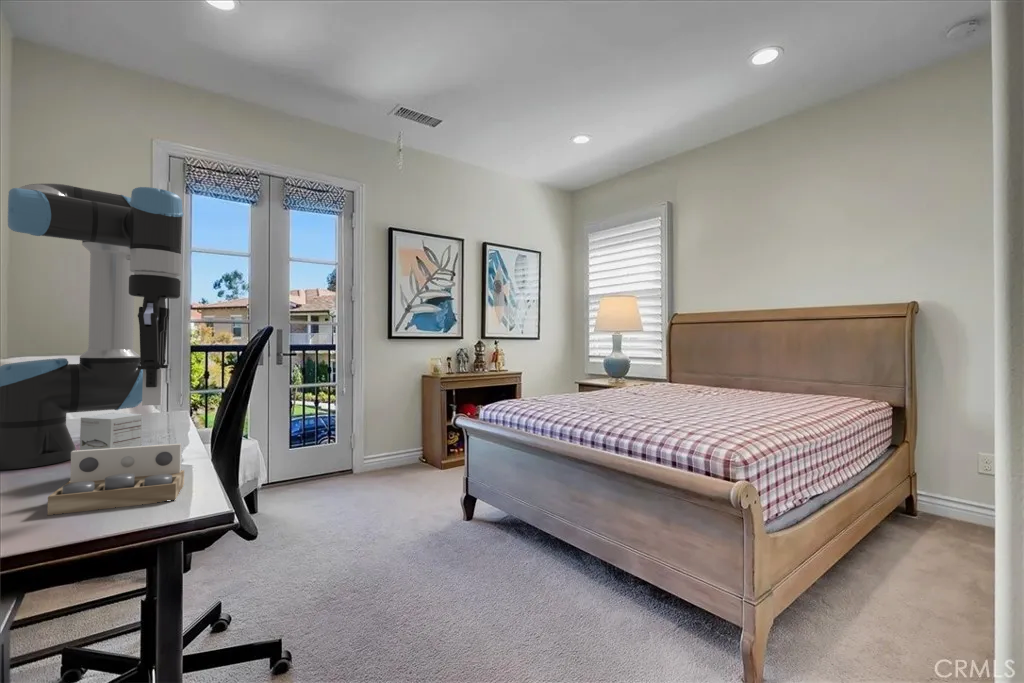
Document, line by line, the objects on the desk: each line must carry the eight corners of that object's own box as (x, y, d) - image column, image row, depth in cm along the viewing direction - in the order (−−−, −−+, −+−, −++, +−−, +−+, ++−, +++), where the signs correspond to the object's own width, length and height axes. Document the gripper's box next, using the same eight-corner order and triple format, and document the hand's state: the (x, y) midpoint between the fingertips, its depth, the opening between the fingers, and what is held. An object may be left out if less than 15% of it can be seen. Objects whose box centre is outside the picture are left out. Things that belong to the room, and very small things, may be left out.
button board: (70, 496, 85) (70, 480, 85) (184, 485, 93) (184, 469, 93) (47, 515, 76) (47, 496, 76) (175, 500, 84) (175, 484, 84)
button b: (108, 489, 83) (108, 474, 83) (136, 486, 85) (137, 472, 85) (101, 495, 80) (101, 481, 80) (131, 492, 82) (131, 478, 82)
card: (72, 481, 84) (73, 450, 84) (180, 471, 91) (181, 443, 91) (69, 483, 83) (70, 452, 83) (179, 473, 90) (180, 444, 90)
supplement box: (77, 479, 95) (78, 417, 95) (113, 469, 102) (114, 411, 102) (108, 481, 94) (110, 418, 94) (142, 471, 101) (144, 413, 101)
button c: (146, 489, 86) (147, 475, 86) (173, 486, 88) (173, 473, 88) (141, 495, 82) (142, 481, 82) (169, 492, 84) (169, 478, 84)
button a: (67, 497, 81) (67, 482, 81) (97, 494, 83) (97, 480, 83) (58, 504, 77) (58, 489, 77) (89, 501, 79) (90, 486, 79)
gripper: (138, 277, 89) (134, 400, 90) (119, 269, 78) (116, 411, 78) (185, 280, 93) (182, 399, 93) (174, 273, 81) (171, 409, 82)
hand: (152, 404), depth 86 cm, fingers closed
